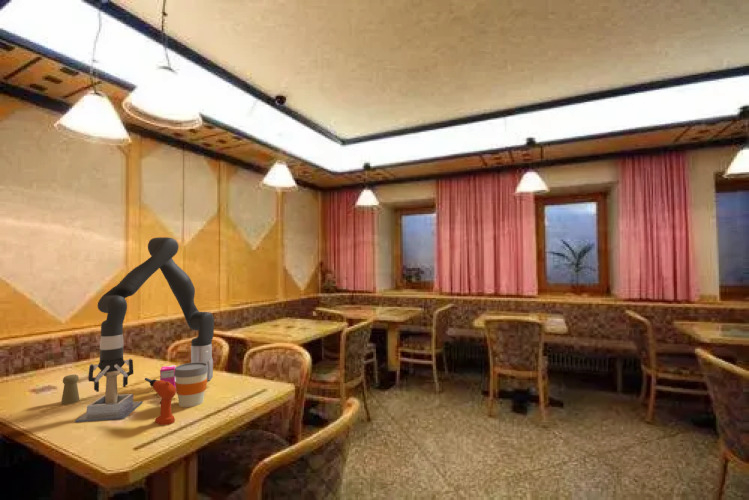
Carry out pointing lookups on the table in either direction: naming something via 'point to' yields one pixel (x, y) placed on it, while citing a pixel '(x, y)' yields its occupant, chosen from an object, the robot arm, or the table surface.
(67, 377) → the pepper shaker
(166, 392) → the toy drill
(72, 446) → the table surface
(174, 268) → the robot arm
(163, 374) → the supplement box
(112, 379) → the handle
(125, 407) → the chuck block
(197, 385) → the reusable coffee cup
